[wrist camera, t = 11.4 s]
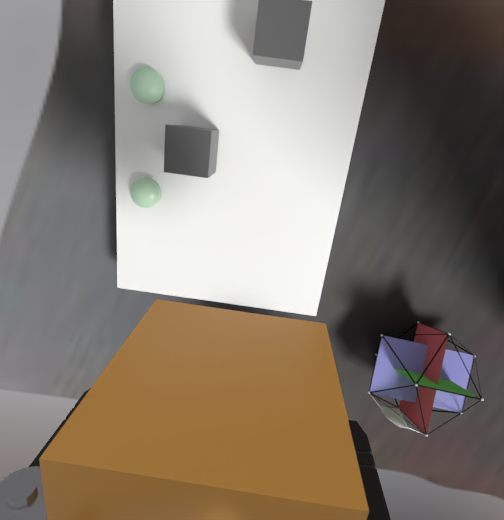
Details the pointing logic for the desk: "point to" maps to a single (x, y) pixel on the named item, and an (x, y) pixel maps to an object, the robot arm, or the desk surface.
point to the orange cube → (209, 426)
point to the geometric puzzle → (421, 376)
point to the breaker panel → (235, 149)
